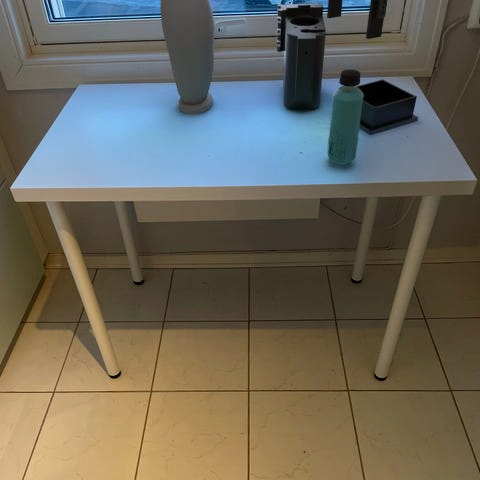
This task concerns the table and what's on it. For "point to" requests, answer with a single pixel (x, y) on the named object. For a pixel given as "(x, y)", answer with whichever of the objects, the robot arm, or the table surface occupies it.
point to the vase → (190, 50)
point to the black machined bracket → (301, 53)
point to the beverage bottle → (345, 118)
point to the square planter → (385, 107)
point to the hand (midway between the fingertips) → (352, 26)
